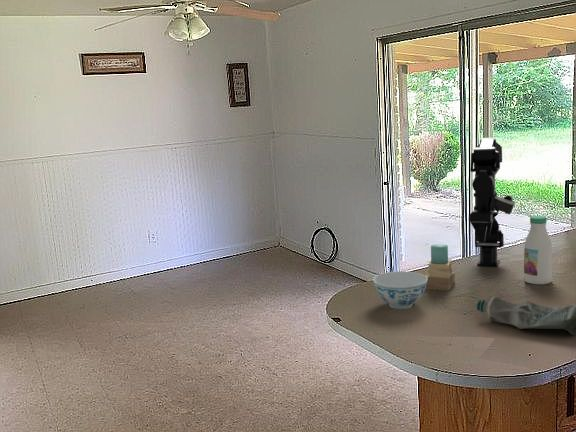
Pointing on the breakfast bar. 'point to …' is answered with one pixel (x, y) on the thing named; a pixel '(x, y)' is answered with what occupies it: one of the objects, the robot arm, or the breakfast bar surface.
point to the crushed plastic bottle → (530, 314)
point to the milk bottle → (538, 253)
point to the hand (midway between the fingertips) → (485, 238)
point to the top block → (440, 269)
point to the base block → (440, 282)
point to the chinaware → (400, 288)
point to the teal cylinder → (439, 253)
